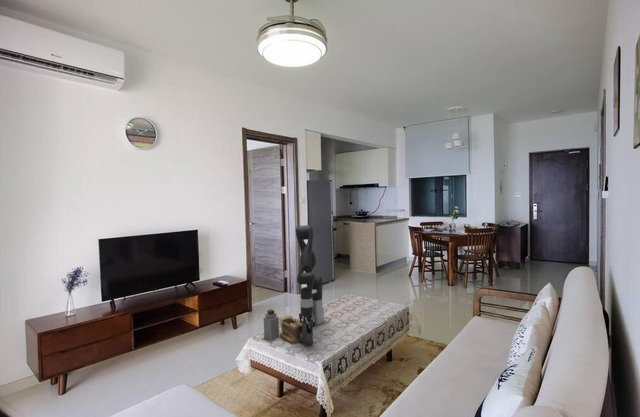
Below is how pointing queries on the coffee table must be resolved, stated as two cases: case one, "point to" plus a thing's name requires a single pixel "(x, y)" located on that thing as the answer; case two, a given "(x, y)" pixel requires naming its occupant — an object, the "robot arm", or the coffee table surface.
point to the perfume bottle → (271, 325)
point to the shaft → (304, 334)
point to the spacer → (286, 319)
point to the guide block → (290, 331)
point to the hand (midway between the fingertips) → (307, 332)
